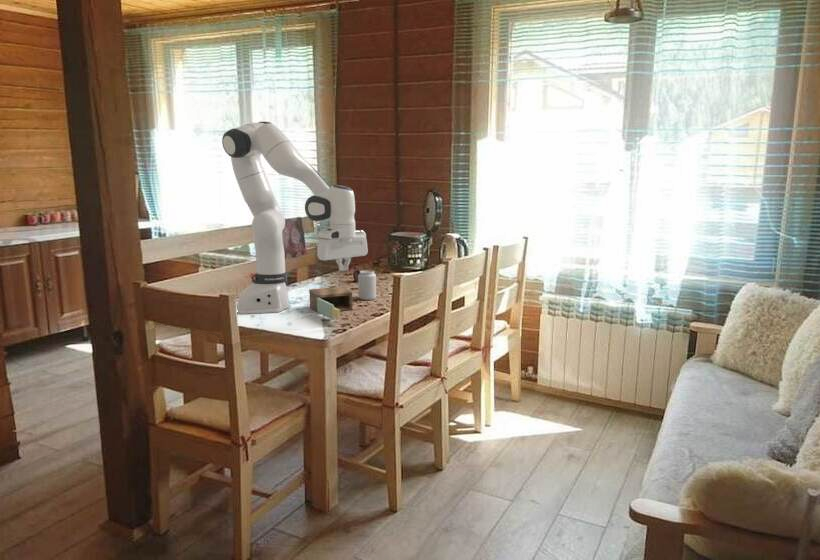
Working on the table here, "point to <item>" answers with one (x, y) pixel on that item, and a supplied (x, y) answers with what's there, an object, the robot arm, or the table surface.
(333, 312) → the green yellow-tipped stick
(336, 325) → the table surface
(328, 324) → the table surface
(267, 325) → the table surface
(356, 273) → the compass
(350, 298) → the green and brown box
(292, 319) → the table surface
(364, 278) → the can
